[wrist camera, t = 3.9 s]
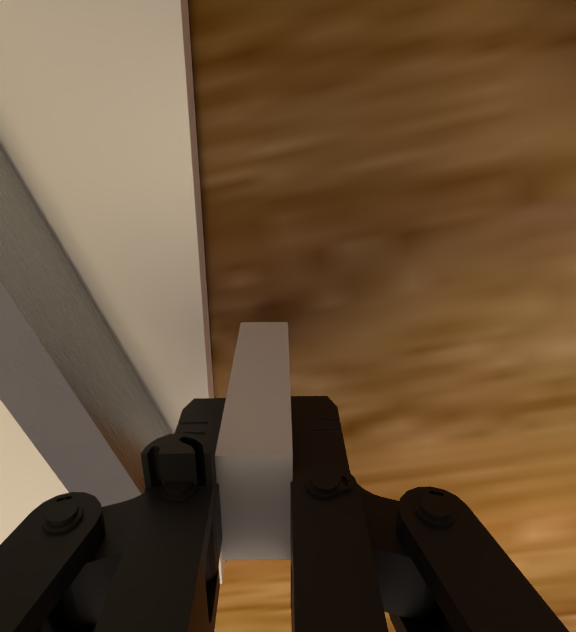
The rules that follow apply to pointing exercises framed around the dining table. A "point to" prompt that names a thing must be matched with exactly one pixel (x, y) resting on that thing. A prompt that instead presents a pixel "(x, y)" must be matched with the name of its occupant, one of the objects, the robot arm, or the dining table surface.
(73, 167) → the board
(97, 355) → the tongs jaw
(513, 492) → the dining table surface
